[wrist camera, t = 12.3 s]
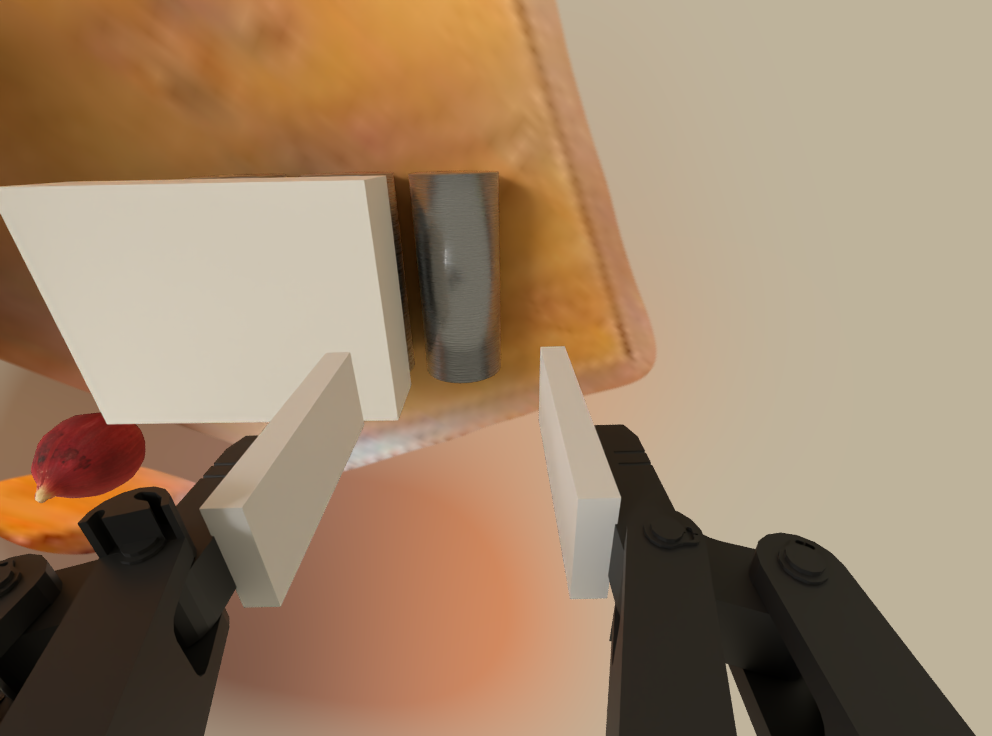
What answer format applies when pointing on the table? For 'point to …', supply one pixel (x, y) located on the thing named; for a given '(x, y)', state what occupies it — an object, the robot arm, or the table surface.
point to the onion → (86, 457)
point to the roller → (458, 271)
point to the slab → (217, 290)
